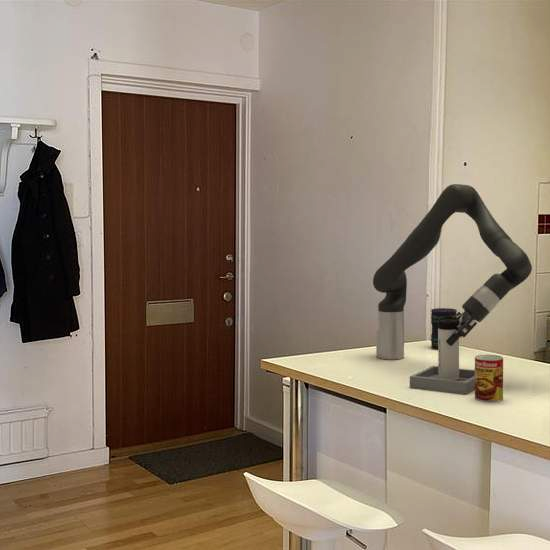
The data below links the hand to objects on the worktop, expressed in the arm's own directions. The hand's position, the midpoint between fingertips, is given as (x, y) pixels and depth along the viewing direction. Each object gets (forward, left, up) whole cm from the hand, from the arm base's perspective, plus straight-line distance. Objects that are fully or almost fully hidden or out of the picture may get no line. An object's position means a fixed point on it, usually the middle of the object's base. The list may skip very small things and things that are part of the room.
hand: (444, 341), depth 244 cm
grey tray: (+1, +1, -14) cm, 14 cm away
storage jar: (-23, +58, -14) cm, 64 cm away
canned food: (+17, -9, -14) cm, 24 cm away
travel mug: (+1, +1, -13) cm, 13 cm away
